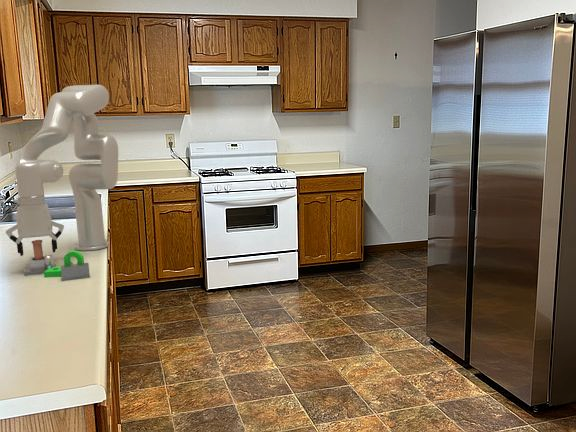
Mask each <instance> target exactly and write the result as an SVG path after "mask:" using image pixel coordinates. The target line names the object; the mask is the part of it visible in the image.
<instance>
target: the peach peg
mask: <svg viewBox="0 0 576 432" xmlns="http://www.w3.org/2000/svg"><path fill="white" fill-rule="evenodd" d="M31 244H32V248H33V249H32V250H33V257H34V258H35V260H41V259H43V256H44V251H43V240H42V239H35V240H32V241H31Z"/></svg>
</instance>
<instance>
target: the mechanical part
mask: <svg viewBox="0 0 576 432" xmlns="http://www.w3.org/2000/svg"><path fill="white" fill-rule="evenodd" d="M71 258H74V259H76V261H77V262H76V264H80V263H85V259H84V255H83V254H82V253H81V252H80V250H76V249H75V250H70V251H68V252H67V253H66V254H65V255H64V257H63V265H71V264H74V263H73V262H72V261H71ZM61 266H62V265H59V266H55V267H52V268H49V269H47V270H46V271H44V275H43V277H44V278H59V277H60V278H62V275H61Z"/></svg>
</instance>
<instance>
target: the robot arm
mask: <svg viewBox="0 0 576 432" xmlns="http://www.w3.org/2000/svg"><path fill="white" fill-rule="evenodd" d="M108 91H109V90H108V89H107V88H106V87H105V86H104V85H101V84H82V85H81V84H78V85H70V86H69V85H68V86H66V87H64V88H63V89H62V90H61V91H60V92H56V93H54V94H53V95H51V97H50V99H49V102H48V106H47V109H46V111H45V116H44V119H43V122H42V125H41V128H40V130H39V131H38V132H37V133H36V134H34V136H32V137H31V138H30V140H29V141H28V142H27V143H26V144H25V145H24V146H23V147H22V149H21V152H20V155H19V158H18V162H17V164H16V165H15V177H16V185H17V194H18V197H17V198H14V199H13V203H14V204H18V205H19V206H17V208H16V224H15V225H13V226H11V227H10V228H8V229H6V230H5V233H6V235H7V236H8V237H9V240H11V241H12V242H13V243H15V244H16V248H17V253H18V254H19V255H20V257H23V256H24V253H25V252H24V244H23V242H22V240H23V239H28V238H29V239H30V238H39V237H47V236H48V237H49V238H51V249H52V253H56V250H58V245H57V244H58V241H57V239H58V238H59V237H60V236H61V235H62V233H63V231H64V228H65V225H64V224H61V223H59V222H56V221H53V220H52V217H51V216H52V215H51V211H50V208H49V205H48V203H46V200H45V199H46V198H45V191H44V190H45V189H44V183H45V184H47V183H50V184H51V183H55V182H58V181H59V180H61V178H62V177H63V175H64V167H63V165H62V164H61V163H60V162H59V161H57V160H56V159H55V160H54V159H39V158H40V156H41V154H43V153H44V152H45V151H46V150H49V149H50V148H52V147H54V146H57V145H58V144H60V143H62V142H64V141H65V140H67V138H68V137H69V136H68V135H69V132H70V127H71V125H72V121H73V124H74V141H73V143H74V144H73V145H74V146H73V147H74V149H73V150H74V155H75V157H76V158H77V159H79V160H80V161H100V163H79V164H76V165H73V166H72V167H70V169H69V172H68V180H69V184H70V186H71V190H72V195H73V201H74V210H75V219H76V230H77V241H78V243H77V244H74V249H75V250H76V251H81V252H82V251H95V250H96V251H97V250H103V249H105V248H108V247H110V241H108V240H106V238H105V236H106V235H105V227H104V216H103V205H102V199H101V197H100V195H99V193H98V192H97V190H112V189H114V188H115V187H116V185H117V184H118V177H119V175H118V174H119V145H118V142H117V139H116V138H115V137H114V136H113V135H111V134H108V133H106V134H105V133H104V134H103V133H102V134H101V133H100V132H99V131H100V129H99V128H100V125H99V120H98V118H97V116H96V114H95V113H97V112H99V111H101V110H102V109H104V108H106V106H107V105H108V104H109V101H110V96H109V92H108ZM53 227H55V228H58V230H57V232H55V233H54V232H53ZM15 231H17V235H18V237H17V236H15V235H14V234H13V232H15Z"/></svg>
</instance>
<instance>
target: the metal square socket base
mask: <svg viewBox="0 0 576 432" xmlns="http://www.w3.org/2000/svg"><path fill="white" fill-rule="evenodd" d="M53 260H54V259H53V255H52V254H47V255H43V259H41V260H35V258H34V256H33V257H32V256H31V257H30V258H29V261H28V264H25V267H24V269H23V277H25V276H26V277H28V276H34V275H35V276H36V275H42V274H44V271H46V270H47V269H49V268H52V267H56V261H53Z"/></svg>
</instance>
